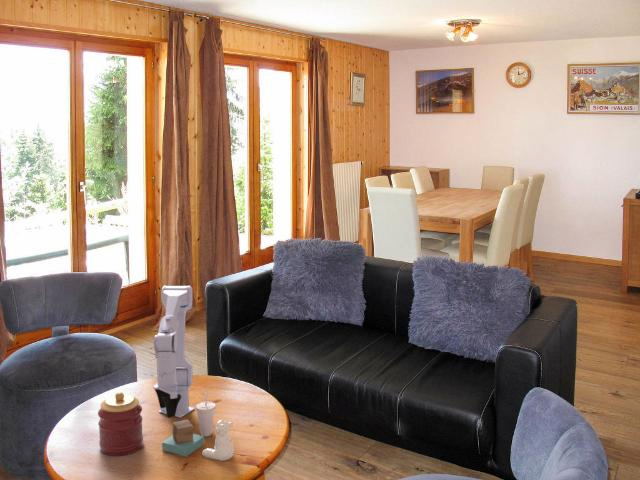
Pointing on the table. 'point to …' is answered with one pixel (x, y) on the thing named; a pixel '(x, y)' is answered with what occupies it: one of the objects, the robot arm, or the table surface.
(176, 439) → the walnut block
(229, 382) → the table surface
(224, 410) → the table surface
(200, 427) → the smoothie
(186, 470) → the table surface
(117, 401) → the canister
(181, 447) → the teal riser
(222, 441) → the seated beast figurine
